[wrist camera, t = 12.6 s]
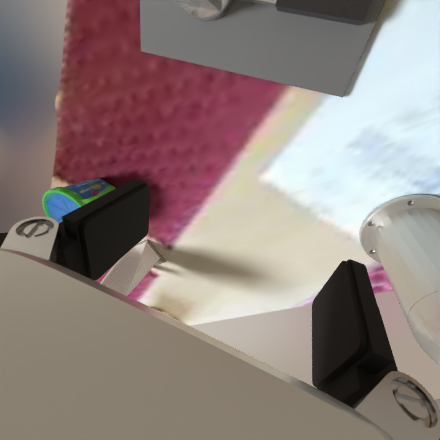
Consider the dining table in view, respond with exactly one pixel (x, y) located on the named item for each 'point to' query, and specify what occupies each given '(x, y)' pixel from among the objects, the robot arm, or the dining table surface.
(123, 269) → the skyscraper
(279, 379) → the robot arm
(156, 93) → the dining table surface
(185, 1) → the light grey block
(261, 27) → the tool mat
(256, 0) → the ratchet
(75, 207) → the snack cup
